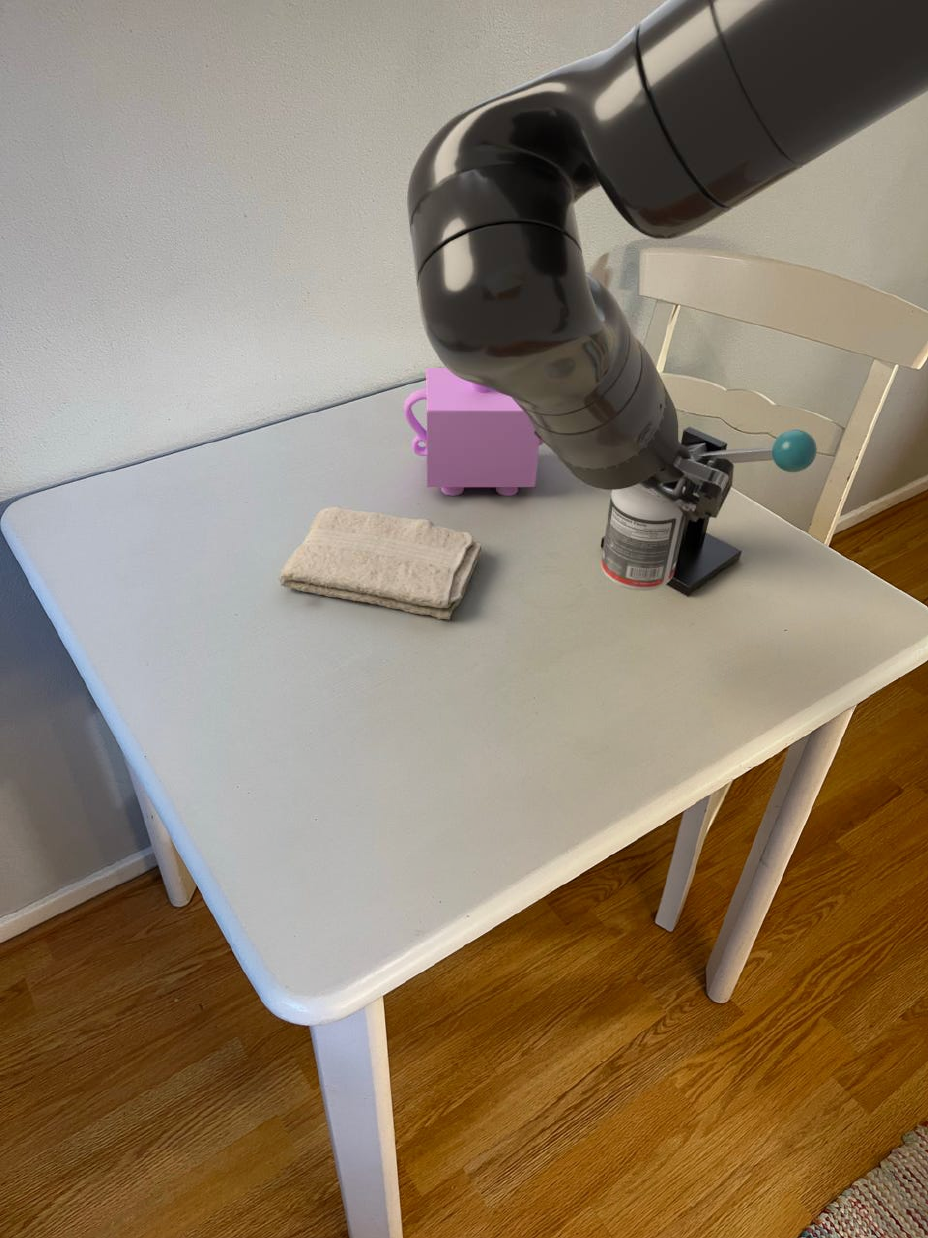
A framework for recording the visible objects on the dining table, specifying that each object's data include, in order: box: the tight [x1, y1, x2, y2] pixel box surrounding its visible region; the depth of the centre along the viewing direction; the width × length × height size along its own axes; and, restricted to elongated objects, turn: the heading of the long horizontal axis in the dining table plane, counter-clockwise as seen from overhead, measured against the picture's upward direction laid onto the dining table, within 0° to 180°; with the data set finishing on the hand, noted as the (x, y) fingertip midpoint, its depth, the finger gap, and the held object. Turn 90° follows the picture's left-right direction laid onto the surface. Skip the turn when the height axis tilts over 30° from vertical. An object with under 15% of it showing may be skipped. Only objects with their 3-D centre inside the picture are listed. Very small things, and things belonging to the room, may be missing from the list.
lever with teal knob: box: [683, 429, 818, 473], centre depth 81 cm, size 14×4×4 cm, turn 43°
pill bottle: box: [601, 484, 686, 592], centre depth 67 cm, size 6×6×10 cm
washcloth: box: [278, 506, 483, 620], centre depth 88 cm, size 12×18×3 cm, turn 76°
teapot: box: [403, 367, 545, 497], centre depth 99 cm, size 20×10×12 cm, turn 92°
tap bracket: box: [600, 426, 742, 597], centre depth 88 cm, size 11×9×13 cm
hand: (659, 493), depth 68 cm, fingers closed on pill bottle, 5 cm apart
